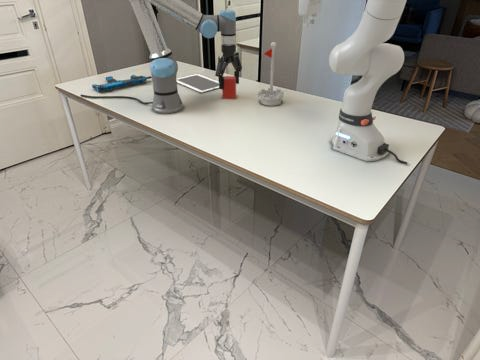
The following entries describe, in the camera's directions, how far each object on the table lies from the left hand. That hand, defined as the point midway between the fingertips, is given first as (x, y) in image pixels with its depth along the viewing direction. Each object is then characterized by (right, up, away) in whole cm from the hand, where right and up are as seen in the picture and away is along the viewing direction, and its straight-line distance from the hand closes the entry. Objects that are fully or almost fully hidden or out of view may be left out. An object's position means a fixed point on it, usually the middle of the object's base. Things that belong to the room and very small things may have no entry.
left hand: (229, 86), depth 184 cm
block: (0, -5, +3) cm, 6 cm away
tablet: (-19, +8, +24) cm, 32 cm away
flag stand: (+22, -10, -4) cm, 24 cm away
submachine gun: (-67, +8, +23) cm, 71 cm away
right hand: (+37, +18, -32) cm, 52 cm away
